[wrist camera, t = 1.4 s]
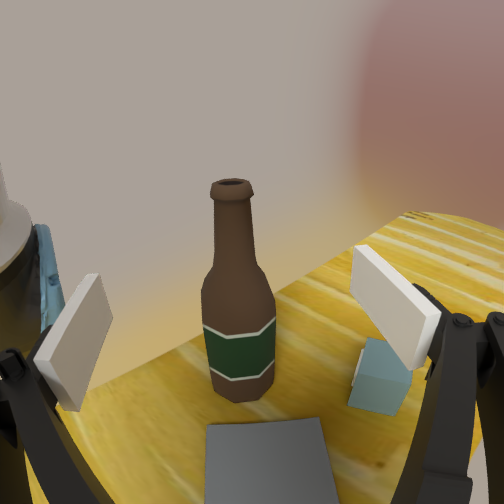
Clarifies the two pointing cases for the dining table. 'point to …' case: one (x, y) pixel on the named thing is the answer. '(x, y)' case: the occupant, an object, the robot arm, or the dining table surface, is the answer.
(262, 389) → the beer bottle
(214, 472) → the mat
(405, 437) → the dining table surface
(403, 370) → the letter block
